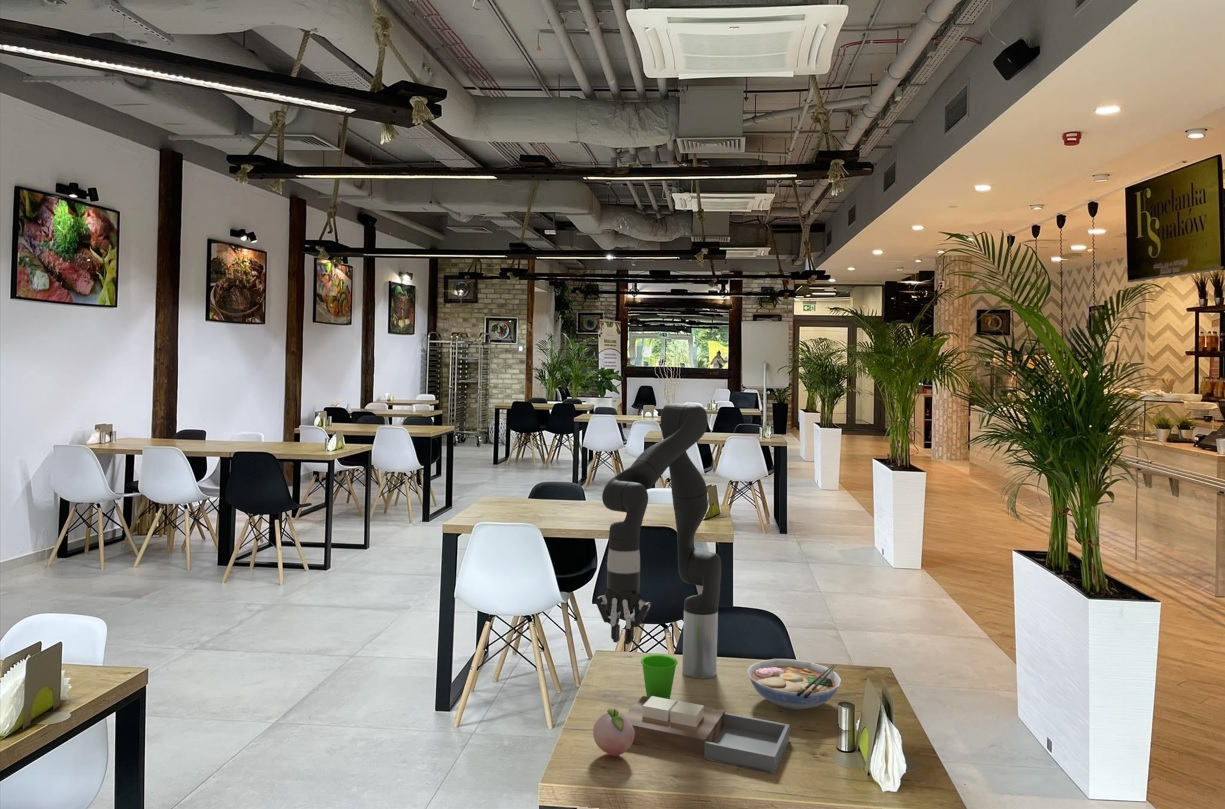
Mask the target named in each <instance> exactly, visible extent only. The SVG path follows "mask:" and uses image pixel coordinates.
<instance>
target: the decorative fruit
mask: <svg viewBox="0 0 1225 809" xmlns="http://www.w3.org/2000/svg"><path fill="white" fill-rule="evenodd" d="M592 730H593V731H592V732H593V739H594V743H595V744H596V746H597V747H598V748H599V749H600V750H602V751H603V752H605V753H606V754H608V755H610V756H612V757H617V756H620V755H623V754H624V753H626V752H627V751H628V750H629V749H630V748H631V746H632V745H633V744H634V743H633V741H634V737H635V731H634V728H633V726H632V724H631V723H630V721H629V720H627V719H626V718H625V717H624V714H622V713H620V712H619V711H618V710H617V709H615V708H609V709H607V710H606V713H604V714H603V715H600V716H599V717H598V718H597V719H596V721H595V722H594V724H593V728H592Z"/></svg>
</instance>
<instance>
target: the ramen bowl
mask: <svg viewBox="0 0 1225 809" xmlns="http://www.w3.org/2000/svg"><path fill="white" fill-rule="evenodd" d="M836 667H837V664H833V665H831V666H830V667H829V668H828V667H827V666H825V665H821V664H817V663H815V662H811V661H806V660H798V659H792V658H791V659H789V658H772V659H765V660H759V661H757V662H755V663H753V664H751V665H749V667H748V669H747V670H746V671H747V675H748V677H749V679H750V682H751V684H752V686H753V688H754V689H755V690H756V692H757V693H758V694H759V695H760V696H762V697H763V698H764V699H766V700H767V701H769V702H770V703H771V704H775V705H777V706H780V707H781V708H783V709H787V710H791V711H801V710H805V709H812V708H816V707H819V706H821V705H823V704H825V703H827V702H828V701H830V699H831V698H833V696H834V695H835V694H836V692H837V691H838V689H839V688H840V685H841V681H842V679H841V677H840V676H839V674H838V672H835V671H833V670H834V669H835V668H836Z"/></svg>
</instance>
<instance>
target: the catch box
mask: <svg viewBox="0 0 1225 809" xmlns="http://www.w3.org/2000/svg"><path fill="white" fill-rule="evenodd" d="M790 727H791V725H790V724H788V723H782V722H777V721H771V720H767V719H761V718H756V717H751V716H747V715H746V716H744V715H739V714H734V713H729V712H725V713H724V727H723V729H722V730H721V732H720V733H719V735H718V736H717V738H716V739H715V741H714V742H708V741H705V750H704V758H703V759H704V760H707V761H712V762H716V763H721V764H727V765H732V766H736V767H741V768H746V769H751V770H756V771H759V772H764V773H768V774H769V773H770V774H774V775H775V773H776V771H777V769H778V768H779V764H780V762H781V760H782V757H783V755H784V753H785V751H786V748H787V746H788V743H789V741H790Z"/></svg>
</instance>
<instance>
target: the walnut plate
mask: <svg viewBox="0 0 1225 809" xmlns="http://www.w3.org/2000/svg"><path fill="white" fill-rule="evenodd" d="M649 699H650V697H647V695H642V696H641V697H640V698H639V699H638V700H637V701H636V702H635V704H634V705H632V707H631V708H630V709H629V710H627V712H626V713H625V714H623V716H624V717H625V718H626V719H627V720H629V721H630V723H631V724H632V726H633V728H634V731H635V737H634V741H633V743H632V744H635V745H638V746H639V745H640V746H644V747H648V748H649V747H650V748H653V749H657V750H658V749H659V750H663V751H669V752H672V753H677V754H682V755H687V756H692V757H696V758H701V759H704V750H705V741H708V742H714V741H715V739H716V738H717V736H718V735H719V733H720V732H721V730H722V729H723V727H724V713H726V711H725V710H722V709H716V708H711V707H706V706H704V717H703V718H702V720H701V721H700V722H699V724H698V725H697V727H693V726H687V725H682V724H677V723H672V722H670V720H669V721H668V722H667V721H662V720H657V719H652V718H647V717H643V705H644V704H645V703H646V702H647V701H648V700H649Z"/></svg>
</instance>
